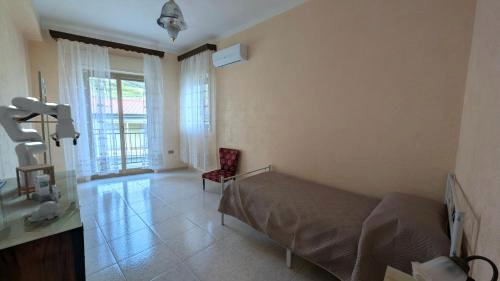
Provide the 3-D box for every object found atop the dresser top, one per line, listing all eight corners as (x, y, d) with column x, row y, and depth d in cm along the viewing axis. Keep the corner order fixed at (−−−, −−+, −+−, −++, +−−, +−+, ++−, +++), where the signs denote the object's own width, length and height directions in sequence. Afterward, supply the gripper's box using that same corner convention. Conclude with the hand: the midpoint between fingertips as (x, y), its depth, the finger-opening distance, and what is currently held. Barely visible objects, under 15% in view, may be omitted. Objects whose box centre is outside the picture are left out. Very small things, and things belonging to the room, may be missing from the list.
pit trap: (16, 191, 145) (16, 189, 145) (36, 187, 154) (36, 185, 154) (22, 194, 140) (22, 192, 140) (42, 189, 149) (42, 187, 149)
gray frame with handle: (31, 198, 133) (30, 182, 132) (53, 193, 142) (51, 178, 141) (45, 204, 124) (44, 187, 123) (67, 198, 134) (66, 183, 132)
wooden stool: (18, 195, 138) (15, 167, 136) (46, 189, 151) (44, 163, 149) (27, 199, 132) (24, 170, 130) (56, 192, 144) (53, 165, 142)
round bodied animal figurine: (35, 223, 109) (25, 210, 106) (63, 209, 115) (54, 196, 113) (32, 229, 103) (21, 215, 101) (62, 214, 110) (52, 200, 107)
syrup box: (40, 200, 132) (37, 177, 130) (35, 198, 134) (33, 175, 133) (52, 196, 137) (49, 174, 135) (47, 195, 140) (45, 173, 138)
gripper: (76, 121, 159) (78, 144, 161) (46, 121, 144) (48, 147, 146) (81, 121, 156) (83, 145, 158) (51, 122, 141) (53, 147, 143)
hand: (66, 145), depth 152 cm, fingers open, 9 cm apart
